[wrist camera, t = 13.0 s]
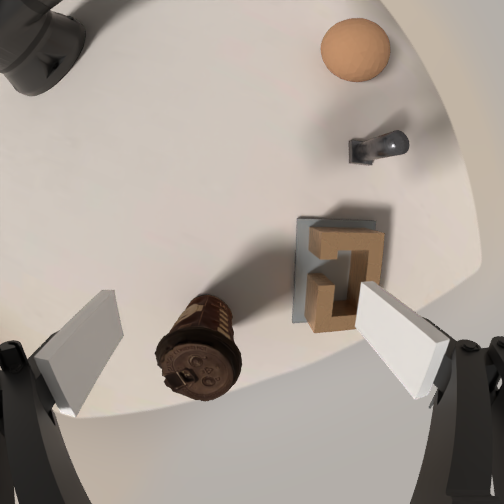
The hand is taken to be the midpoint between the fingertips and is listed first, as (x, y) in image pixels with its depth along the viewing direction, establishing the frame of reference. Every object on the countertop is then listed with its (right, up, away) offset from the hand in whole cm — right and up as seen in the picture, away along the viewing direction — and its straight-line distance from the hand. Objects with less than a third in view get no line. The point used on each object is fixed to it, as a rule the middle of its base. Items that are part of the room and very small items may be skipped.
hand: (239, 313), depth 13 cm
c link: (+12, 0, +21) cm, 24 cm away
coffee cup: (-5, -5, +22) cm, 24 cm away
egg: (+13, +29, +16) cm, 36 cm away
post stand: (+15, +16, +19) cm, 29 cm away
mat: (+12, 0, +22) cm, 25 cm away
